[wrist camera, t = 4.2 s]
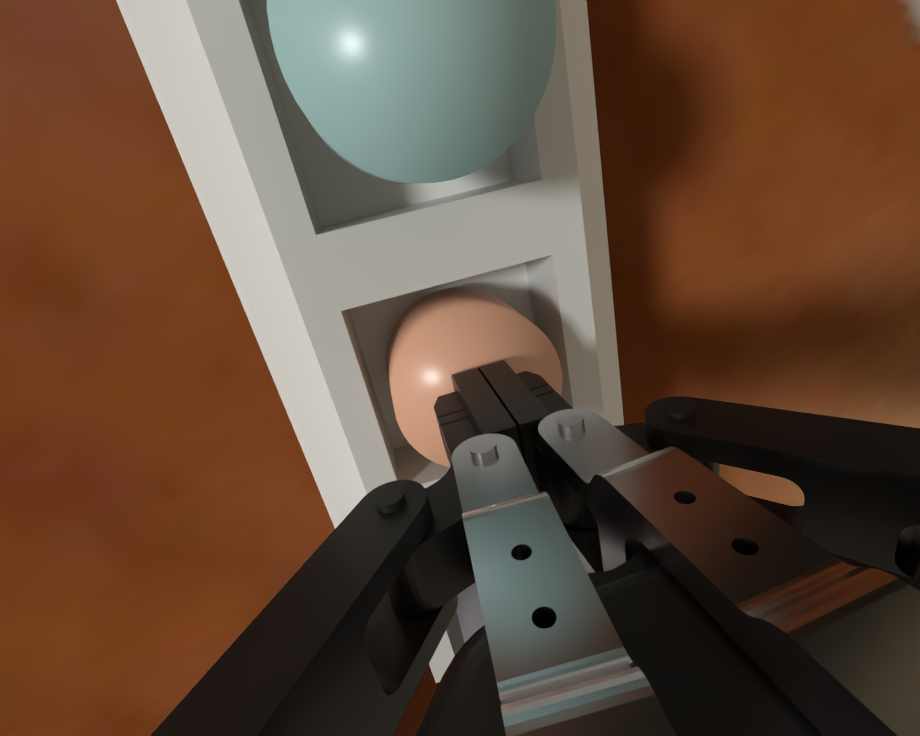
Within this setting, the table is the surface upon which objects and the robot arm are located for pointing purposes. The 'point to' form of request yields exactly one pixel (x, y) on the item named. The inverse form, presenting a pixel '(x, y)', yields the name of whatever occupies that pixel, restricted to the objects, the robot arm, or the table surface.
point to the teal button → (415, 78)
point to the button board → (380, 237)
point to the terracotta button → (457, 355)
